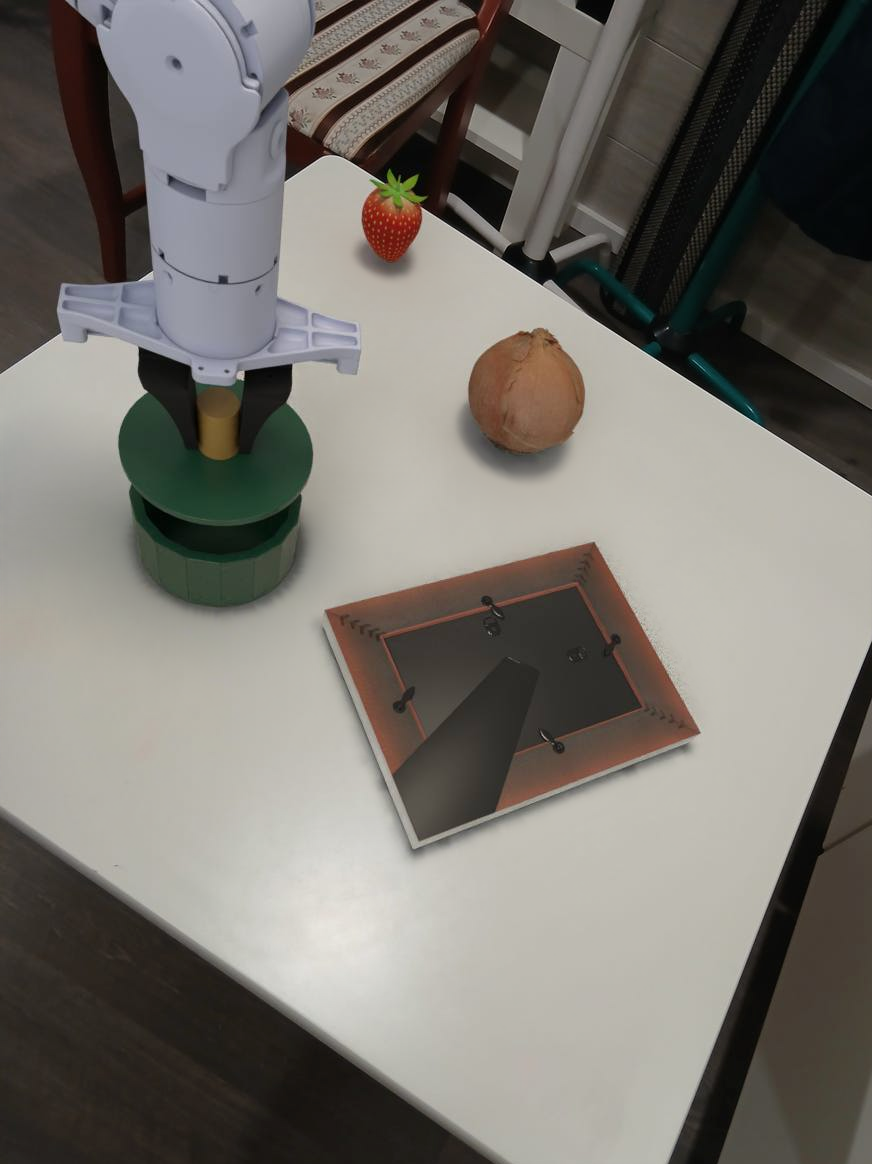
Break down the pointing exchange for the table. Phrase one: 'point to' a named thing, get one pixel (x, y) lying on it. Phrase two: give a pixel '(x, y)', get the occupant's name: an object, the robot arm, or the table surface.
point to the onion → (526, 392)
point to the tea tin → (215, 553)
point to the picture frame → (504, 688)
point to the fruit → (392, 217)
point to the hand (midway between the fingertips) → (218, 438)
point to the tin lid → (215, 459)
